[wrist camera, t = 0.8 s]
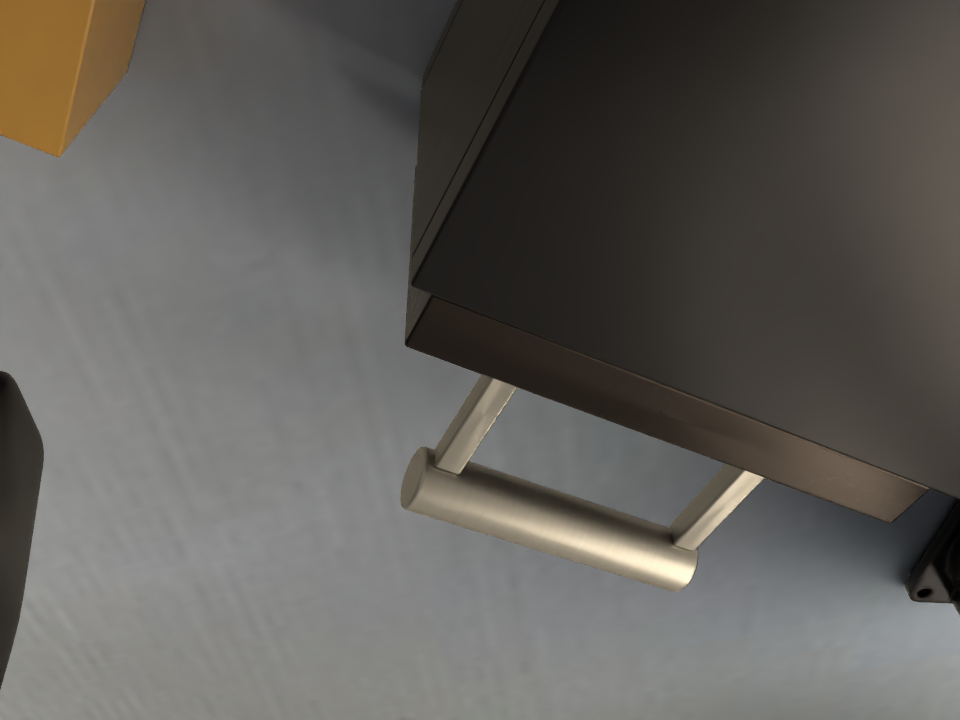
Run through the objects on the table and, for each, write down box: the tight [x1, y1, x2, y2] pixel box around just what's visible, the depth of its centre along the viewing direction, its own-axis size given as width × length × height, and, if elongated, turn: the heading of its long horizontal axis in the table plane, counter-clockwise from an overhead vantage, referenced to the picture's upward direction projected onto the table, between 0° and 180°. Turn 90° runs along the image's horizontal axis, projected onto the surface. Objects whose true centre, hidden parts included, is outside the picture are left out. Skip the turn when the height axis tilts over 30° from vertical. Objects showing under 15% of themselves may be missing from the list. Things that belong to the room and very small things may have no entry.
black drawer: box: [400, 165, 930, 591], centre depth 17 cm, size 18×11×7 cm, turn 154°
